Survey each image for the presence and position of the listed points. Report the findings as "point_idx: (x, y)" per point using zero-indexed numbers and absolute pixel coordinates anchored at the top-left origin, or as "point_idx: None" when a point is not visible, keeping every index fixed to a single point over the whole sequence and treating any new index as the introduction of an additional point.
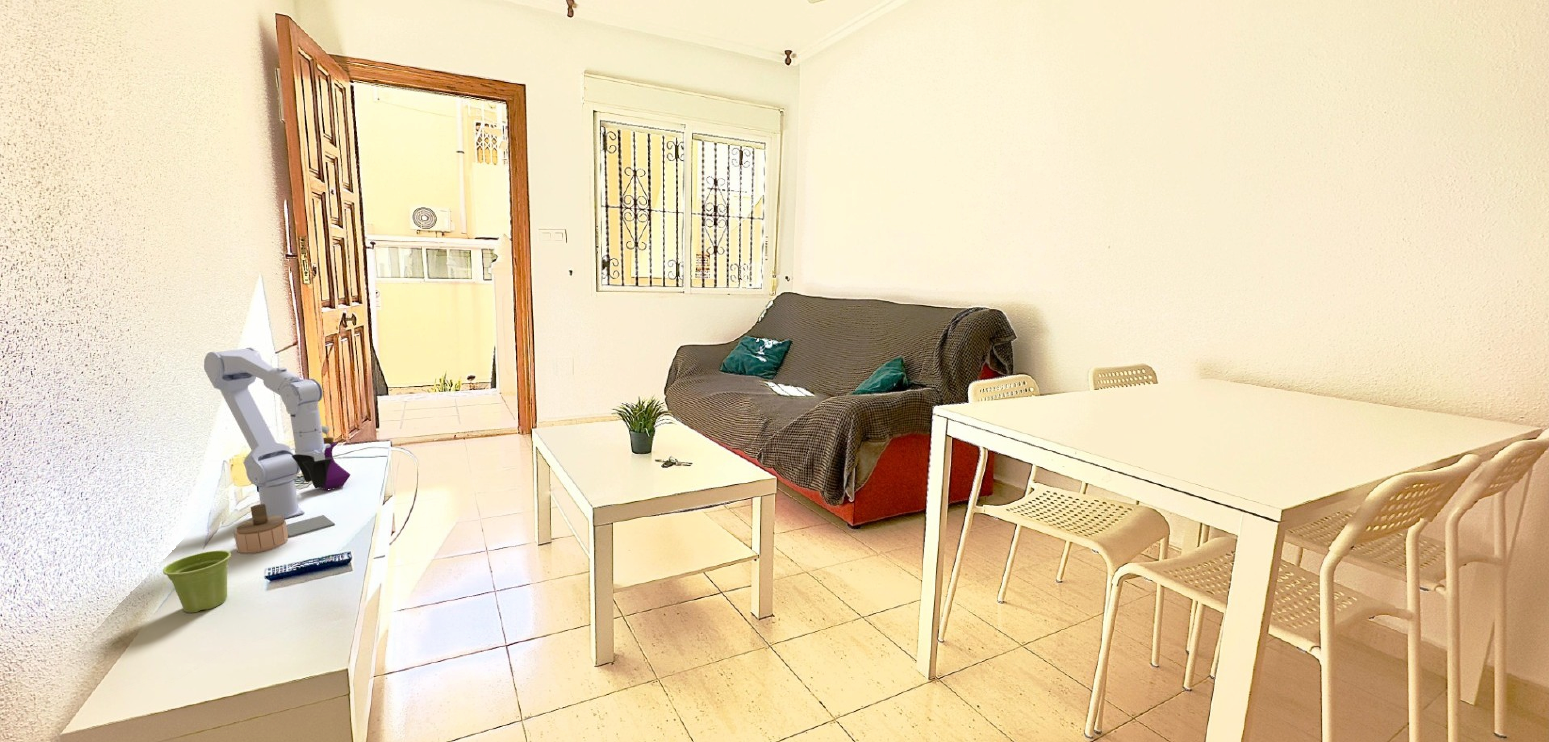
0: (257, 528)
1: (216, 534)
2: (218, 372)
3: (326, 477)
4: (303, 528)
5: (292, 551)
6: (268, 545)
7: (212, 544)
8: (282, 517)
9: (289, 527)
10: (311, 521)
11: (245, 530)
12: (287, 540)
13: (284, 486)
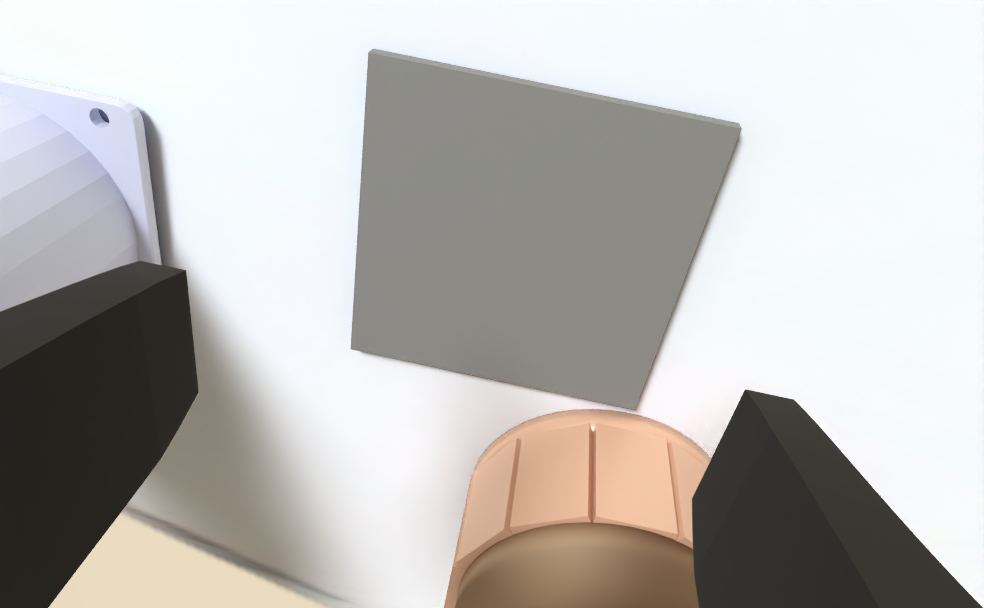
0: None
1: (149, 507)
2: None
3: (904, 529)
4: (574, 303)
5: (917, 503)
6: None
7: (313, 569)
8: (637, 557)
9: (443, 333)
10: (461, 197)
11: None
12: (680, 433)
13: None
